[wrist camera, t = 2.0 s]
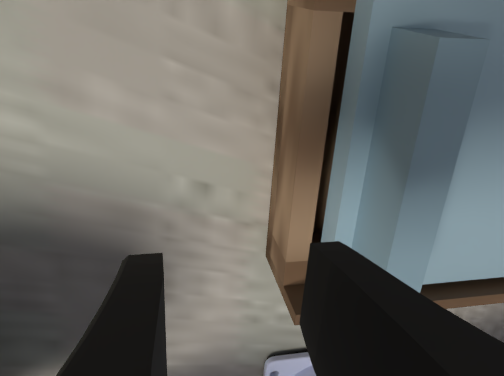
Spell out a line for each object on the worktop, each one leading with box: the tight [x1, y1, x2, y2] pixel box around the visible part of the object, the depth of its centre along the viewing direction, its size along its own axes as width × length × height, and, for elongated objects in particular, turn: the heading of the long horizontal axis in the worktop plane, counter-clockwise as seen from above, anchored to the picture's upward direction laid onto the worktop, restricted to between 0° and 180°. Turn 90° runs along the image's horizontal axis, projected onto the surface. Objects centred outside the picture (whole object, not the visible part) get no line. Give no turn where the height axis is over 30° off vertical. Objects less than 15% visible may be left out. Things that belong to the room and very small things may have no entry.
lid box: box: [266, 0, 504, 325], centre depth 18 cm, size 13×15×5 cm
